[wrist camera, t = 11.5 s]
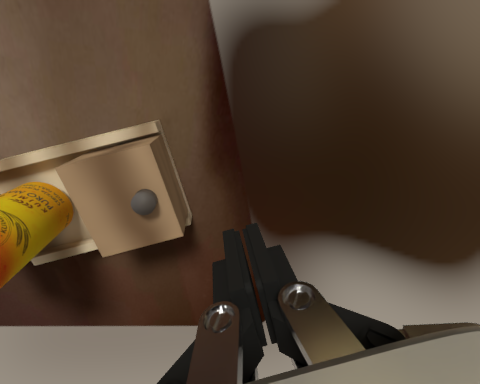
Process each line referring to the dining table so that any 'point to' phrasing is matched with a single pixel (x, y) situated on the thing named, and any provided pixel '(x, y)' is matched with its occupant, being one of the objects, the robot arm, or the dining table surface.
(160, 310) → the dining table surface
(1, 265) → the beer can
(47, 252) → the vise base
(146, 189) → the block
